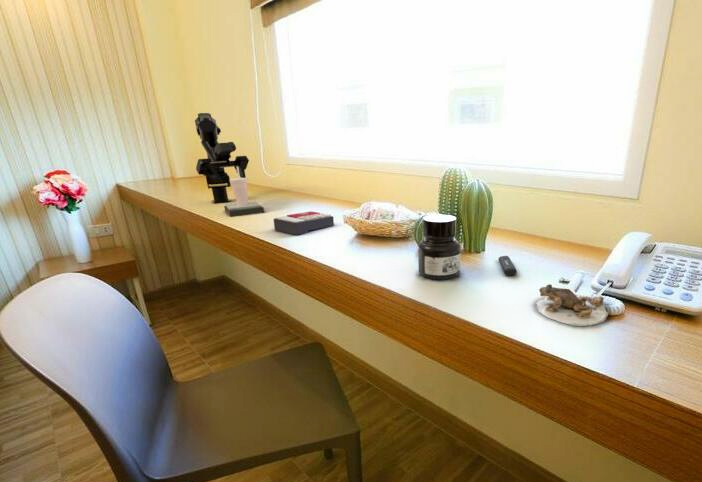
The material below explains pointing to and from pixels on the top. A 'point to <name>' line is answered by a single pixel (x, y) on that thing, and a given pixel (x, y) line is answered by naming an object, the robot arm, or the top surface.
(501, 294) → the top surface
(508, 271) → the usb stick
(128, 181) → the top surface
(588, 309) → the frog figurine
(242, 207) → the scale
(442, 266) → the ink bottle
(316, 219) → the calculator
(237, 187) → the smoothie
